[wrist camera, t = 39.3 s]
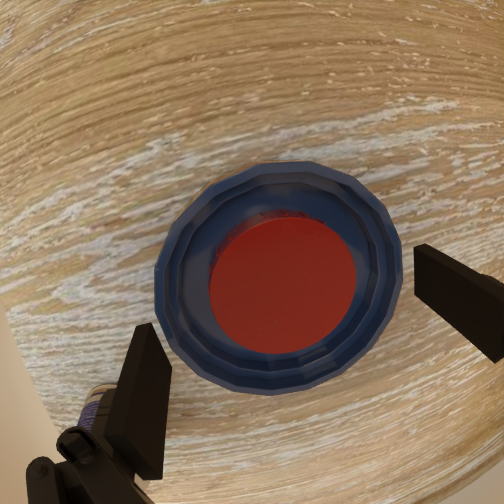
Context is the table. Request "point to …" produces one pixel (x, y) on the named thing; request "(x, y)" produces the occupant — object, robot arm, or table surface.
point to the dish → (233, 212)
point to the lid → (280, 281)
